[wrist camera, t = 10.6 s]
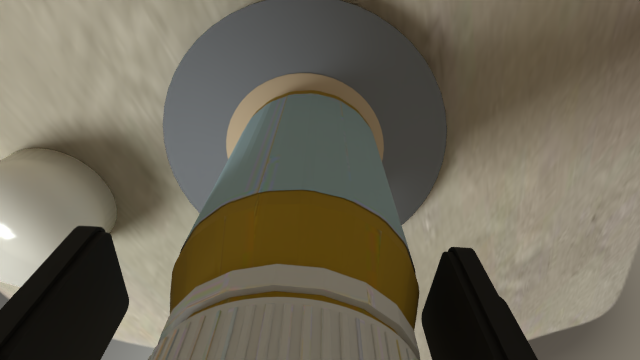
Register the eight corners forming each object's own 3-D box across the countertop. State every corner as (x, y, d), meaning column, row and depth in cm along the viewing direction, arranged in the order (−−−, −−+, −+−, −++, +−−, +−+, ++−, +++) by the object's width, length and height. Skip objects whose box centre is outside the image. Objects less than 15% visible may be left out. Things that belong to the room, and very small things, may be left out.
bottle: (219, 114, 18) (-40, 459, 5) (350, 65, 17) (434, 356, 4) (276, 220, 22) (200, 597, 8) (389, 184, 20) (508, 564, 7)
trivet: (150, -20, 16) (140, -20, 15) (475, 10, 17) (484, 12, 16) (184, 240, 24) (179, 251, 23) (410, 255, 24) (414, 267, 23)
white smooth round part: (-21, 142, 21) (-91, 176, 17) (104, 152, 21) (60, 187, 17) (19, 239, 24) (-32, 284, 21) (126, 246, 24) (94, 291, 21)
